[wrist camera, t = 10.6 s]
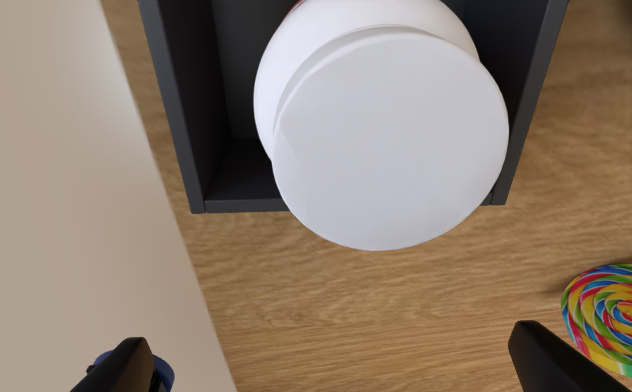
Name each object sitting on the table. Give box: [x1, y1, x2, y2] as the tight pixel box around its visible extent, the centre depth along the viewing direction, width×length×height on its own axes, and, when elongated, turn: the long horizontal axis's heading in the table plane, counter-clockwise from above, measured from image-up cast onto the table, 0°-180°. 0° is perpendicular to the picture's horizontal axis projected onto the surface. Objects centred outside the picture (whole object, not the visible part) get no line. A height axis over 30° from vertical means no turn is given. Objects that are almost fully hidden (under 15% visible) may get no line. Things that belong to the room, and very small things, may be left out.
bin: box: [137, 0, 569, 214], centre depth 13 cm, size 12×12×7 cm
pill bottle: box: [254, 0, 509, 251], centre depth 12 cm, size 6×6×11 cm
